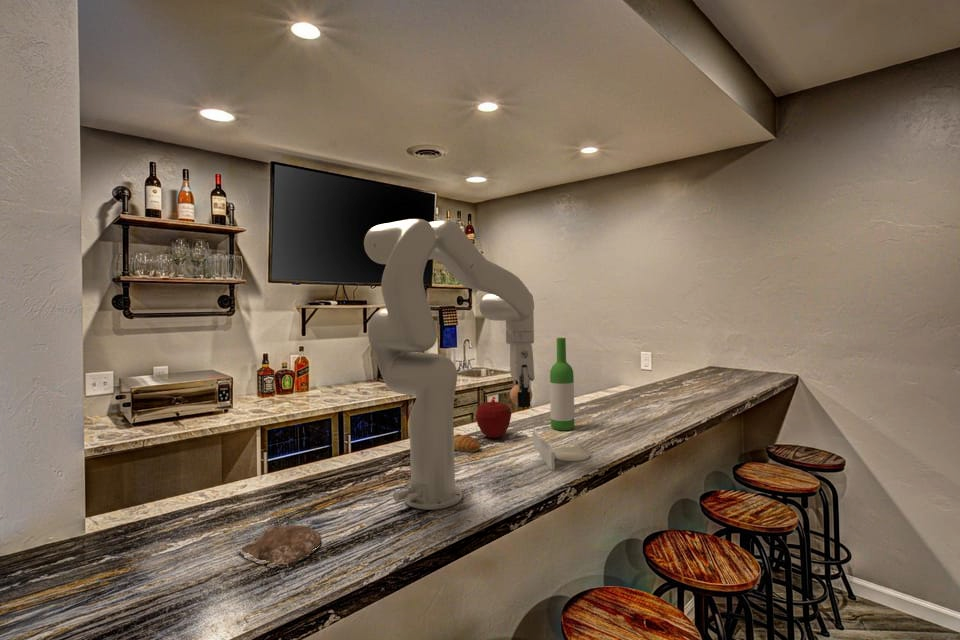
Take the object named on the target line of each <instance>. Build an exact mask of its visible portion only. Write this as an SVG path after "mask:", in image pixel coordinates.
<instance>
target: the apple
mask: <svg viewBox="0 0 960 640" xmlns="http://www.w3.org/2000/svg"><path fill="white" fill-rule="evenodd" d="M511 418H512V411H511V408H510V407H509V406H508V405H507V404H506V403H504V402H500V401H494V400H492V401H486V402H482V403H481V404H480V405H479V406H478V408H477V409H476V414H475V419H476V423H477V426H478V429H480V431H481V433H482V434H483V435H485V436H486V437H487V438H490V439H498V438H501V437H503V436H504V435H505V434H506V433H507V431H508V428H509V426H510V423H511V422H510V421H511Z"/></svg>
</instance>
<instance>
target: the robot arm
mask: <svg viewBox="0 0 960 640" xmlns="http://www.w3.org/2000/svg"><path fill="white" fill-rule="evenodd" d="M363 247H364V252H365V254H367V256H368V257H369V259H370V260H371V261H373V262H375V263H376V264H380V265H385V267H384V270H383V273H382V277H381V283H380V284H381V285H380V286H381V287H380V288H381V294H382V297H383V300H384V304H385V307H384V308H380V309H379V310H377V311H376V312H374V314H373V315H372V316H371V317H370V320H369V322H368V329H367V336H368V337H367V338H368V342H369V344H370V347H371V351H372V353H373V356H374V358H375V362H376V364H377V366H378V369H379V373H380V375H381V377H382V380H383V382H384V384H385V385H386V387H388V389H389V390H390V391H392V392H393V393H397V394H400V395H407V396H413V397H415V398H416V399H415V401H414V403H413V406H412V407H411V410H410V413H409V414H410V415H409V423H408V425H409V427H408V429H409V449H410V450H409V453H410V454H409V455H410V456H409V457H410V458H409V459H410V480H407V481H406V483H407V485H406V486H405V487H404V489H400V490H398V491H395V492H393V493H392V498H393V500H394V502H396V503H397V502H401V501H404V503H405V504H406V505H408V506H409V507H411V508H414V509H416V510H417V509H419V510H425V511H426V510H430V511H431V510H432V511H433V510H439V509H440V510H442V509H446V508H449V507H452V506H455V505H457V504H458V503H459V502H461V501H462V499H463V490H462V488H461V487H459V486H458V485H456V472H455V471H456V470H455V467H456V466H455V465H456V464H455V463H456V462H455V449H454V436H455V433H454V432H455V431H454V424H455V423H454V405H455V404H454V403H455V395H456V388H457V382H458V369H457V368H456V367H457V366H456V364H455V363H454V362H453V361H452V359H450V358H449V357H447V356H445V355H443V354H439V353H432V352H431V353H430V352H427V351H429V350H431V349H432V348H433V347H434V346H435V344H436V342H437V339H438V333H437V332H438V331H437V326H436V322H435V320H434V317H433V313H432V310H431V307H430V306H431V305H430V304H429V301H428V297H427V293H426V289H425V286H424V273H425V270H426V269H425V268H426V266H427V262H428V261H429V260H437V261H439V262H440V264H442V266H443V267H444V268H445V269H446V270H447V271H448V273H450V275H452V277H453V278H454V279H455V280H456V281H457V282H458V283H459V284H460V285H462V286H463V287H466V288H469V289H472V290H474V291H477V292H484V293H486V294H484V295H483V296H482V297H481V299H480V301H479V307H478V310H479V312H480V314H481V315H482V316H483V318H485V319H487V320H488V321H489V320H490V321H494V322H495V321H503V322H504V321H505V344H506V345H509V368H510V371H509V372H510V377H512V379H513V380H512V388H513V387H514V386H515V385H517V384H518V388H519V392H518V406H517V407H518V408H530V407H531V401H530V389H531V388H530V381H531V382H533V381H534V380H535V367H534V366H535V365H534V364H535V363H534V354H533V346H532V344H534V343H535V332H534V331H535V329H534V327H535V326H534V325H535V324H534V323H535V321H534V310H535V302H534V297H533V296H534V295H533V294H532V293H531V292H530V291H529V290H530V289H528V287H527V286H526V285H525V283H524V282H523V281H522V280H521V279H520V278H519V276H517V275H516V274H514V273H513V272H511V271H509V270H507V269H505V268H503V267H502V266H500V265H498V264H496V263H495V262H492V261H490V260H489V259H487V258H486V257H485V256H484V255H483V254H482V252H481V251H480V250H479V249H478V247H477V246H475V244H474V242H473V241H472V240H471V239H470V238H469V237H468V235H467V234H466V233H465V231H464V230H463V228H461V227H460V225H459V224H458V223H456V222H455V221H453V220H450V219H439V220H434V221H433V220H432V221H427V220H425V219H421V218H408V219H402V220H397V221H392V222H387V223H381V224H377V225H375V226H373V227H371V228H370V229H368V231H367V233H366V234H365V236H364V240H363Z"/></svg>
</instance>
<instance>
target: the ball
mask: <svg viewBox="0 0 960 640" xmlns="http://www.w3.org/2000/svg"><path fill="white" fill-rule="evenodd" d="M518 392H519V388H518V384H517V385H515V386H514V387H513V386H512V388H511V390H510V393H509V398H510V400H511V402H512V403H513V404H514V405H516V406H517V407H518ZM532 400H533V390H532V389H531V388H530V402H531V401H532Z"/></svg>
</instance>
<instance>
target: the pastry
mask: <svg viewBox="0 0 960 640" xmlns="http://www.w3.org/2000/svg"><path fill="white" fill-rule="evenodd" d="M480 448H481V443H479V441H478V440H477V439H475V438H473V437H472V436H471V435H467V434H464V435H463V434H460V433H457V434H454V451H457V452H463V453H475V452H477V451H479V450H480Z"/></svg>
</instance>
